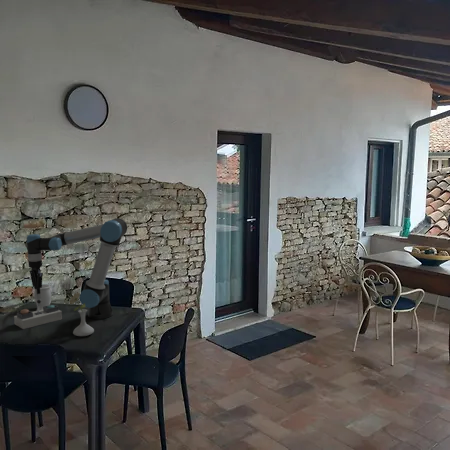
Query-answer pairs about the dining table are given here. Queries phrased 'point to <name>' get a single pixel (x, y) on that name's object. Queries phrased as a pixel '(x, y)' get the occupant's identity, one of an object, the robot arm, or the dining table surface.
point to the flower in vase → (83, 327)
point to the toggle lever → (38, 305)
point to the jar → (44, 296)
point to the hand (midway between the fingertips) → (38, 298)
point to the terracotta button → (24, 311)
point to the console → (38, 317)
